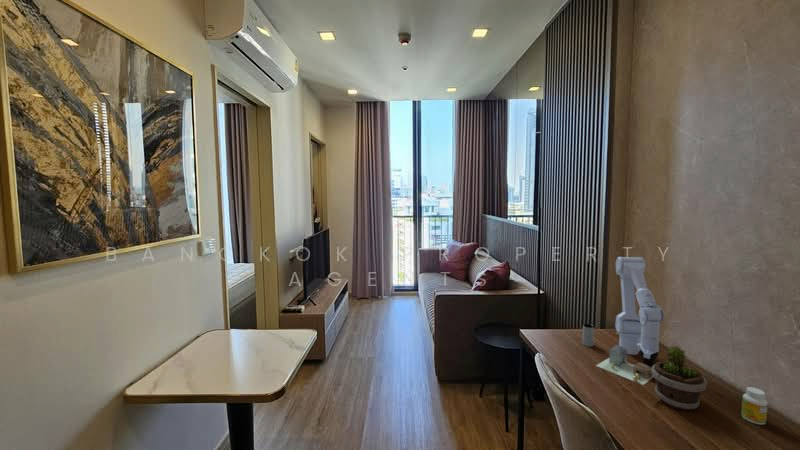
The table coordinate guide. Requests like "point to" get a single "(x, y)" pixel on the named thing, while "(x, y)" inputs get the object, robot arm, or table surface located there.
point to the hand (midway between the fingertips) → (648, 368)
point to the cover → (642, 369)
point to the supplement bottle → (754, 406)
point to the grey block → (618, 355)
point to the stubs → (636, 377)
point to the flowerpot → (678, 381)
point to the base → (623, 371)
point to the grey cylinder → (588, 335)
